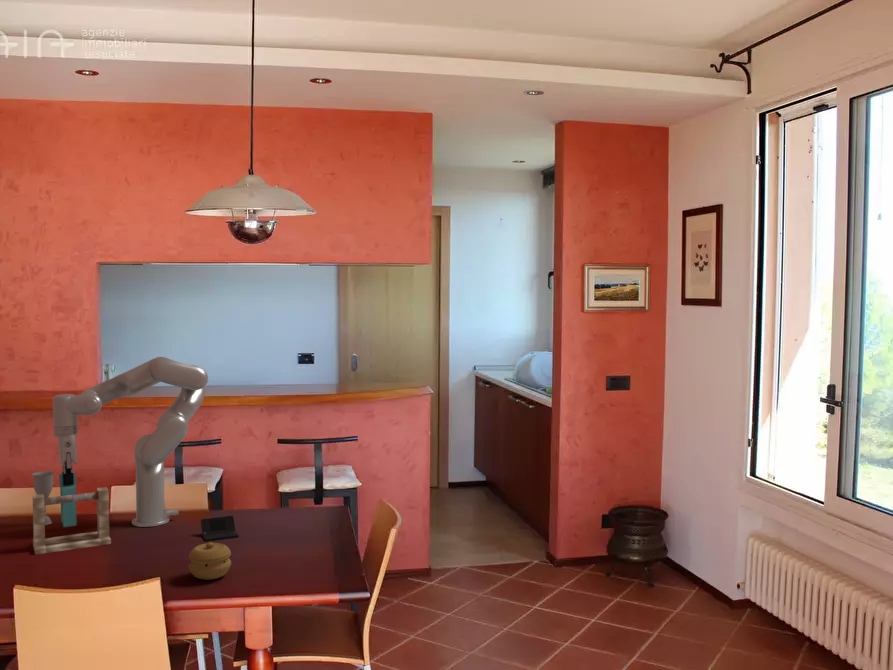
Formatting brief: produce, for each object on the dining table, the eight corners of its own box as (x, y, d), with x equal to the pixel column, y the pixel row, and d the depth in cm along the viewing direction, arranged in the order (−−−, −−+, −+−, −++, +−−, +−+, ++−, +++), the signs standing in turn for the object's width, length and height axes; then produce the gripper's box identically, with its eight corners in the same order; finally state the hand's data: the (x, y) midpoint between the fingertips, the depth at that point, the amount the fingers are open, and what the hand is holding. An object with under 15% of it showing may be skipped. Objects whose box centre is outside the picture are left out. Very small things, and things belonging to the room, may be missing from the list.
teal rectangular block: (75, 519, 277) (74, 470, 277) (78, 525, 270) (76, 475, 269) (59, 521, 275) (58, 472, 274) (61, 527, 267) (60, 477, 266)
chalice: (59, 521, 287) (58, 471, 286) (48, 526, 280) (47, 475, 279) (40, 520, 287) (39, 471, 287) (28, 525, 281) (27, 475, 280)
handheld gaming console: (208, 538, 261) (205, 510, 266) (200, 547, 265) (197, 520, 270) (241, 537, 267) (238, 510, 273) (234, 546, 272) (230, 519, 277)
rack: (105, 534, 270) (105, 485, 269) (110, 543, 260) (110, 492, 259) (32, 544, 259) (31, 492, 258) (35, 554, 249) (34, 500, 248)
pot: (237, 578, 227) (237, 544, 227) (196, 587, 220) (196, 551, 220) (223, 567, 237) (222, 534, 236) (183, 575, 230) (182, 541, 230)
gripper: (80, 432, 266) (82, 487, 267) (75, 426, 280) (77, 478, 281) (55, 435, 262) (58, 490, 263) (51, 428, 276) (53, 481, 277)
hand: (68, 483), depth 272 cm, fingers closed on teal rectangular block
